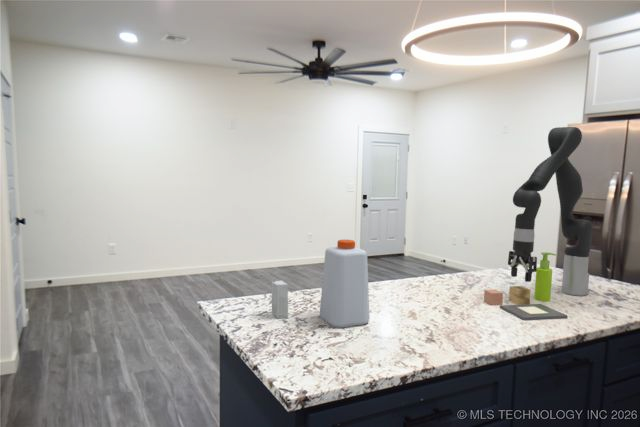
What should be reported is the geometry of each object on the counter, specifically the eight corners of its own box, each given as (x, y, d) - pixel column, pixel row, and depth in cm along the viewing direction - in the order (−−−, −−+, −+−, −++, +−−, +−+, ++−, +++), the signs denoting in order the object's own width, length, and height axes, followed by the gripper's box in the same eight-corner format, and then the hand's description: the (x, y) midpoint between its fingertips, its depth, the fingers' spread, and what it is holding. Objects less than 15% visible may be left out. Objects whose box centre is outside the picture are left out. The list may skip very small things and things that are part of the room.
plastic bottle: (315, 315, 148) (317, 238, 146) (353, 310, 154) (355, 236, 152) (333, 330, 134) (335, 245, 132) (374, 324, 140) (376, 243, 138)
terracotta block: (494, 301, 170) (495, 289, 170) (502, 305, 165) (503, 292, 165) (483, 301, 169) (484, 289, 169) (490, 305, 164) (491, 293, 164)
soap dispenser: (554, 302, 170) (558, 254, 169) (536, 300, 172) (540, 253, 170) (549, 298, 176) (553, 252, 174) (532, 296, 178) (535, 251, 176)
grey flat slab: (540, 306, 165) (540, 303, 165) (567, 318, 151) (567, 315, 151) (499, 307, 161) (499, 305, 161) (523, 320, 148) (523, 317, 147)
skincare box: (288, 317, 145) (289, 284, 144) (276, 319, 143) (277, 285, 142) (282, 312, 151) (282, 279, 150) (270, 313, 149) (271, 281, 148)
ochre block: (520, 300, 173) (521, 286, 172) (529, 304, 167) (530, 289, 167) (508, 300, 172) (509, 286, 171) (517, 304, 166) (518, 290, 166)
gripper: (544, 242, 161) (541, 283, 162) (520, 237, 175) (517, 274, 176) (527, 242, 159) (524, 283, 161) (504, 237, 173) (501, 275, 175)
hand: (520, 278), depth 168 cm, fingers open, 8 cm apart
